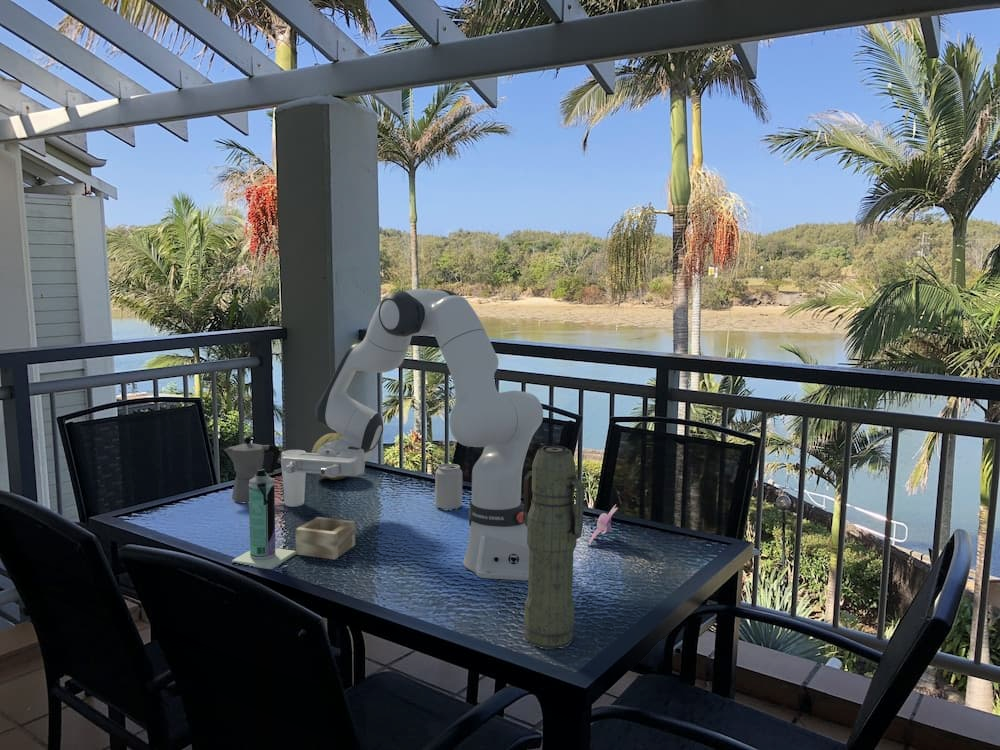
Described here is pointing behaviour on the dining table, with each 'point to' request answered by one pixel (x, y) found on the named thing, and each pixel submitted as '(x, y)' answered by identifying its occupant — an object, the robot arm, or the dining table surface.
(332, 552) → the can holder
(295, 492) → the drinking glass
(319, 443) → the cantaloupe
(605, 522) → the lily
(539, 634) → the olive green cylinder
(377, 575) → the dining table surface
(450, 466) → the can
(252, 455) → the coffeepot
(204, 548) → the dining table surface
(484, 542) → the robot arm
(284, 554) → the sage pad
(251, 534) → the spray can
